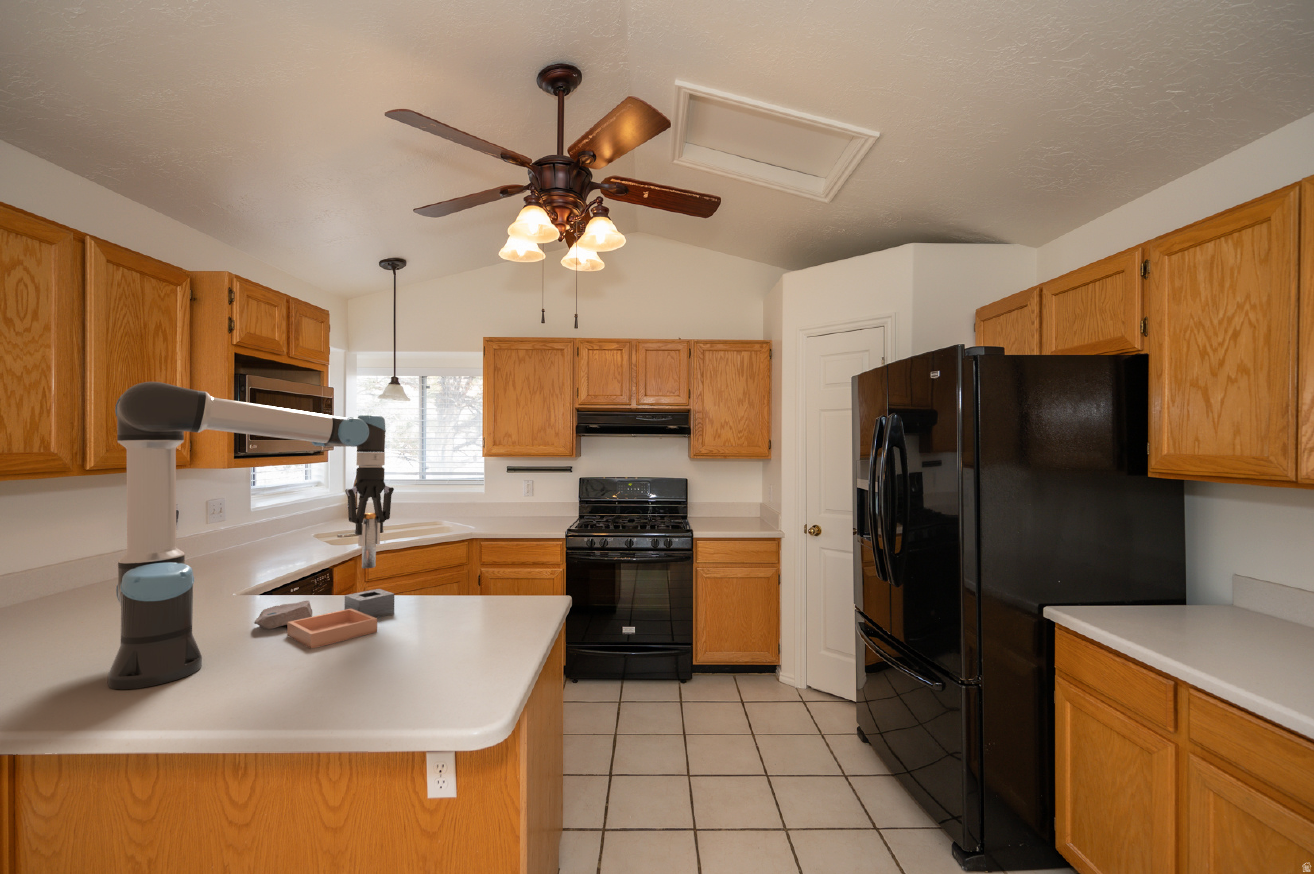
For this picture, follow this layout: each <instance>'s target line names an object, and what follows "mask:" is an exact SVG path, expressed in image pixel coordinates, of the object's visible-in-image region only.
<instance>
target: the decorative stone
mask: <svg viewBox="0 0 1314 874" xmlns="http://www.w3.org/2000/svg"><path fill="white" fill-rule="evenodd" d="M309 617H313V608H312V607H311V603H310V600H302V601H299V602H294V603H283V604H280V605H274V606H270V607H267V608H264V609H263V610H262V611H261V612H260V613H259V615H258V617H257V618H256V619H255V621H254V622H253V623H254V624H255V625H258V626H259V628H260V629H262V630H266V629H268V630H272V629H275V628H278V627H282V626H287V622H290V621H295V620H299V619H304V618H309Z"/></svg>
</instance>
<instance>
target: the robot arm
mask: <svg viewBox="0 0 1314 874" xmlns="http://www.w3.org/2000/svg"><path fill="white" fill-rule="evenodd" d="M114 411H115V416H116V420H117V421H116V423H117V424H116V429H117V431H116V432H117V433H116V434H117V436H116V438H117V439H116V440H117V443H118V444H120V445H121V446H122V447H124V449H126V552H125V554H124V555H122V557H120V558H119V559H118V561H117V585H116V589H115V592H116V598H117V601H118V602H119V605H120V645H119V648H118V651H117V653H116V655H115V658H114V660H113V662H112V665H111V667H110V670H109V672H108V675H107V686H108V687H109V688H111V689H113V690H135V689H142V688H147V687H149V688H150V687H154V686H158V685H162V684H163V685H164V684H166V683H170V682H174V681H178V680H180V679H183V678H185V677H188V676H190V675H192V674H194V673H196V672H198V671H200V669H201V668H202V666H203V663H202V662H203V656H202V653H201V651H200V648H199V646H198V644H197V642H196V639H195V636H194V635H193V634H194V633H193V613H194V612H193V611H194V609H193V606H194V605H193V604H194V603H193V602H194V601H193V600H194V583H195V576H194V570H193V568H192V567H191V566H190V565H188V564H186V563H185V562H186V561H185V559H186V557H185V556H186V554H185V552H184V551H183V550H181V549H179V548H178V547H177V467H176V466H177V460H176V459H177V458H176V457H177V456H176V455H177V452H176V451H177V447H179V446H180V445H182V444H183V443H184V442H185V439H184V438H185V434H184V433H185V432H189V433H202V432H203V431H205V430H211V431H219V432H227V433H236V434H244V435H253V436H263V437H270V438H279V439H287V440H296V441H297V440H298V441H305V442H306V441H307V442H311V443H310V444H311V445H312V446H314V447H322V448H326V447H333V448H334V447H339V448H340V447H352V448H354V447H356V466H358V467H357V468H356V472H355V473H356V476H355V477H356V478H355V480H356V481H355V483H354V486H352V487H351V488H346V489H345V494H346V496H347V510H348V511H347V513H348V522H349V523H354V524H355V535H356V536H358V547H361V548H362V547H363V546H365V525H366V524H363V519H364V514H365V513H366V508H367V504H368V501H369V498H371V500H372V504H373V509H374V510H373V511H374V513H376V546H377V545H381V534H382V533H383V531H384V523H385V521H387V520H390V517H391V508H392V505H391V504H392V496H393V493H394V490H395V488H394V487H392V486H388V485H386V482H385V467H383V466H385V460H386V459H385V457H386V455H385V454H386V452H385V449H386V431H387V430H386V420H385V418H384V417H383V416H381V415H375V414H374V415H373V414H372V415H371V414H370V415H369V414H360V415H357V417H354V416H353V417H352V416H351V417H344V416H336V415H330V414H324V413H317V412H310V411H304V410H298V409H291V408H284V407H277V406H272V405H265V404H260V403H252V402H245V401H239V400H232V399H224V398H219V397H215V396H214V397H213V396H211V395H210V393H208V392H207V391H203V390H197V389H192V388H188V387H187V388H186V387H183V386H182V387H181V386H177V385H173V384H171V383H170V384H169V383H165V382H160V381H145V382H141V383H140V382H139V383H137V384H135V385H132V386H131V387H129V388H128V389H126V390H125V391H124V393H122V394H121V395H120V396H119V398H118V399H117V401H116V404H115V409H114ZM382 492H383V502H382V501H381V500H382V497H381V496H382V495H381V493H382ZM357 493H358V494H359V498H358V505H357V500H356V499H357V497H356V495H357Z"/></svg>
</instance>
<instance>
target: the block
mask: <svg viewBox="0 0 1314 874" xmlns="http://www.w3.org/2000/svg"><path fill="white" fill-rule="evenodd" d="M351 608H352V609H354V610H357V611H359V612H362V613H364V614H367V615H369V616H372V617H375V618H377V619H378V618H382V617H386V616H392V615H395V593H393V592H390V591H387V590H384V589H381V588H376V589H370V590H364V591H360V592H355V593H351V594H350V593H349V594H346V595H344V609H343V610H346V609H351Z"/></svg>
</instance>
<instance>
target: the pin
mask: <svg viewBox="0 0 1314 874" xmlns="http://www.w3.org/2000/svg"><path fill="white" fill-rule="evenodd" d="M376 522H377V521H376V513H375V512H365V514H364V519H363V523H362V524H366V525H365V546H363V547H362V546H361V549H362V550H361V553H362V554H361V568H362V569H373V568H375V567H376V559H377V558H376V555H377V545H376Z"/></svg>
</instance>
